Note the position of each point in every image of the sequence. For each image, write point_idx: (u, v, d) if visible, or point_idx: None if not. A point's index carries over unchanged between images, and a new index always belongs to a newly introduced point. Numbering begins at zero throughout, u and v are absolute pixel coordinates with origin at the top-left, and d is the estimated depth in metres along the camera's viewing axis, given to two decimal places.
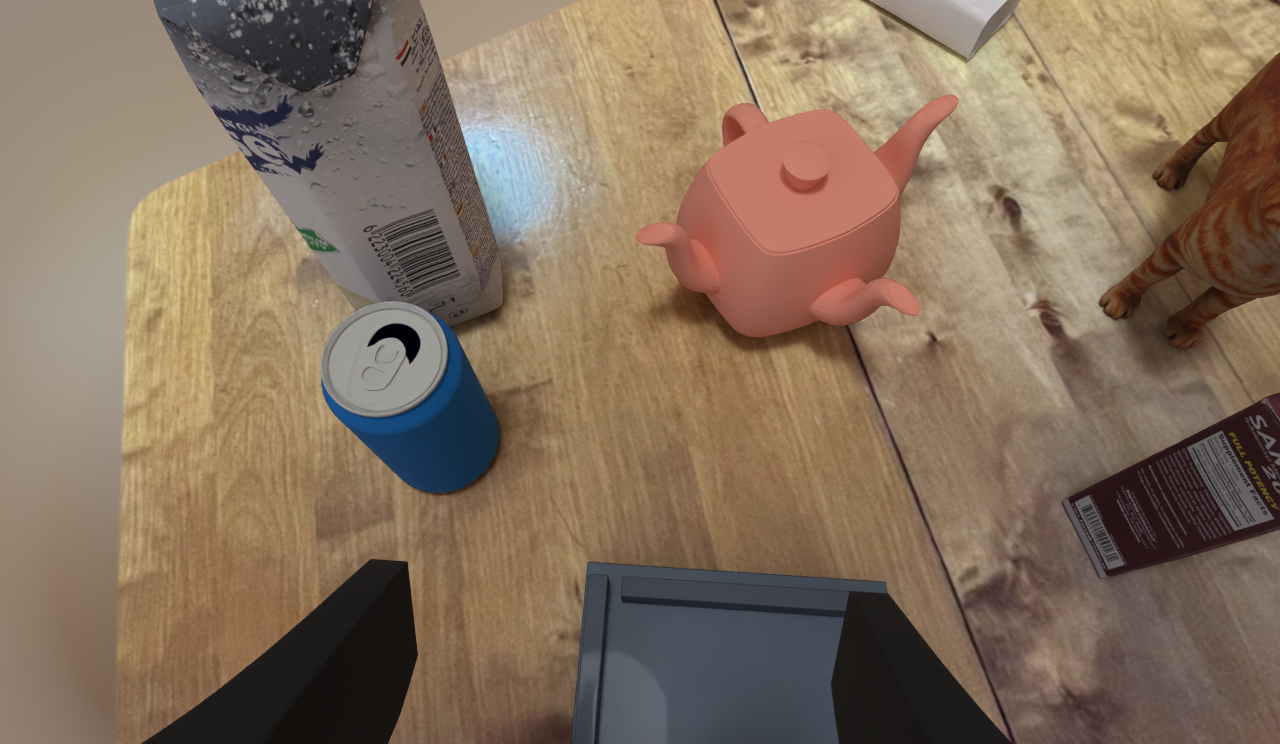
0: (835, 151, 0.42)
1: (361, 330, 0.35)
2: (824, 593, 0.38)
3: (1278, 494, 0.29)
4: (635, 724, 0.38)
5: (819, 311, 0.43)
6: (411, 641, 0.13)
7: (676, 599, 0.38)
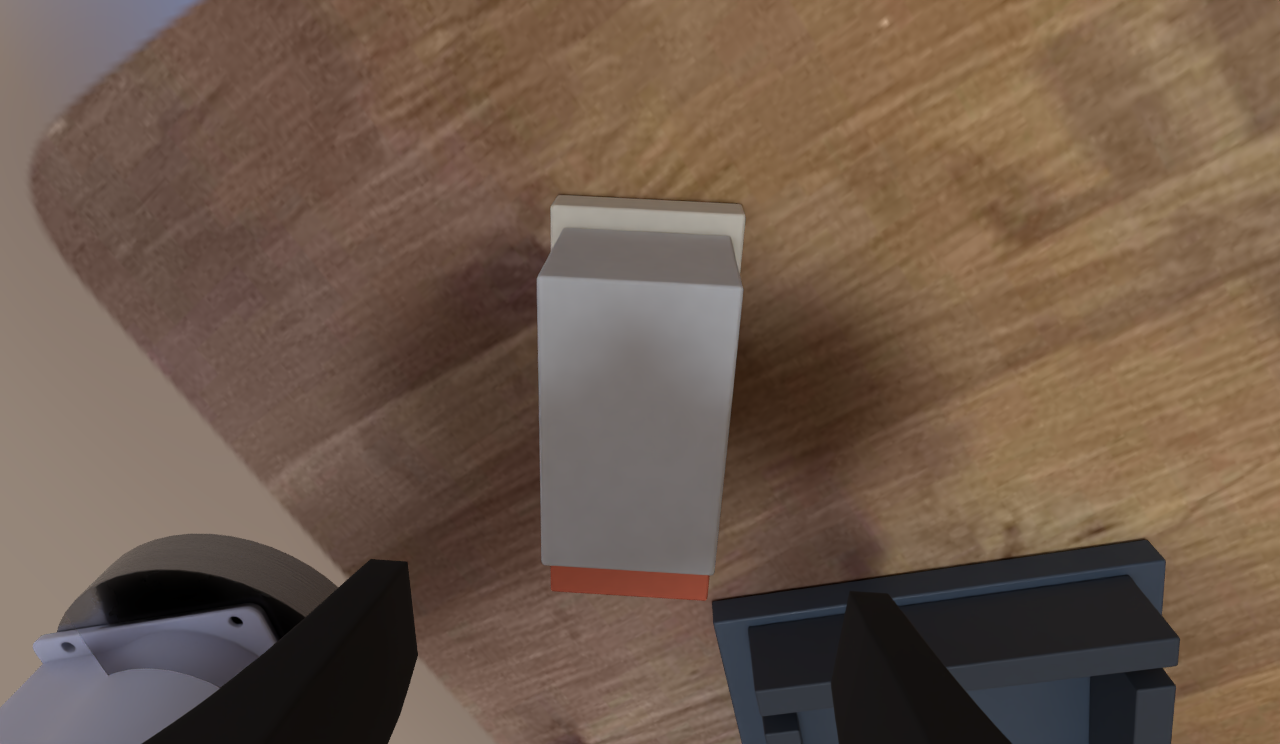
0: None
1: None
2: None
3: None
4: None
5: None
6: (411, 641, 0.13)
7: None
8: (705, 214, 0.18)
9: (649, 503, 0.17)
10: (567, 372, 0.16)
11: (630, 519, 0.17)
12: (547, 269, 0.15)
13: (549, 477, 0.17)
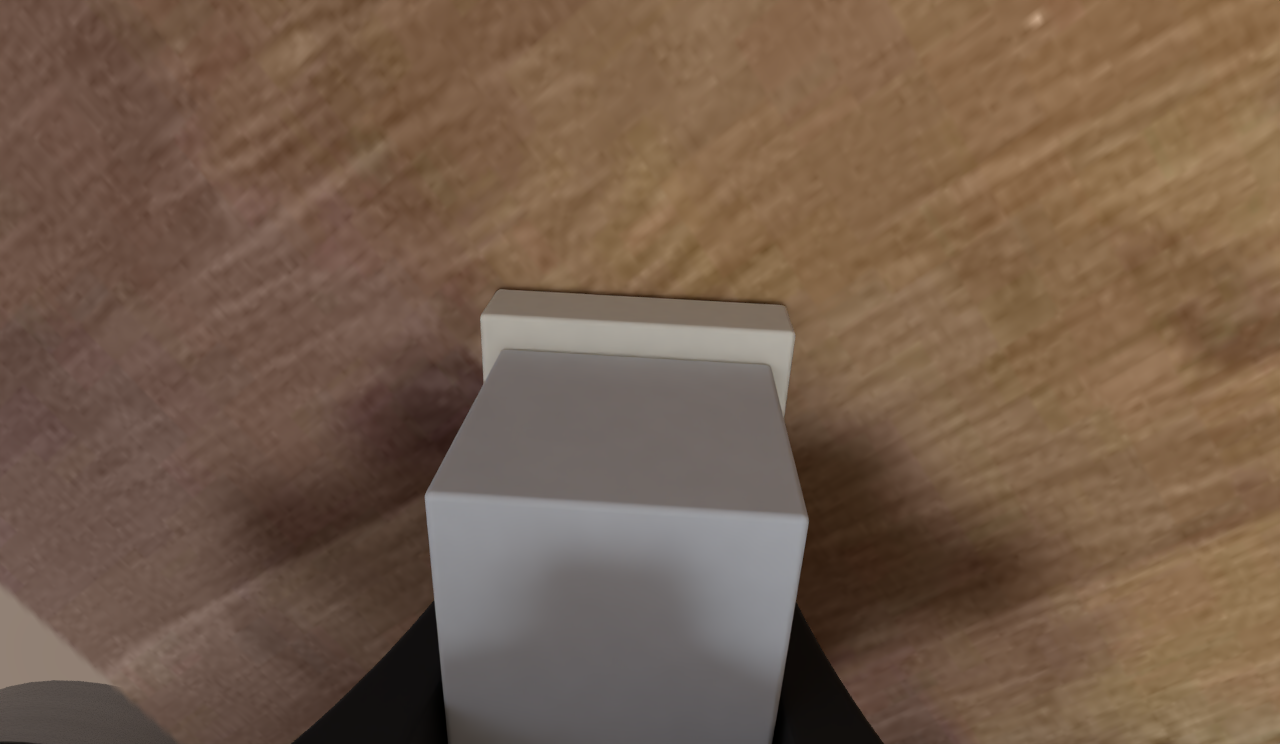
0: None
1: None
2: None
3: None
4: None
5: None
6: None
7: None
8: (730, 331, 0.11)
9: None
10: (488, 644, 0.09)
11: None
12: (448, 471, 0.08)
13: None
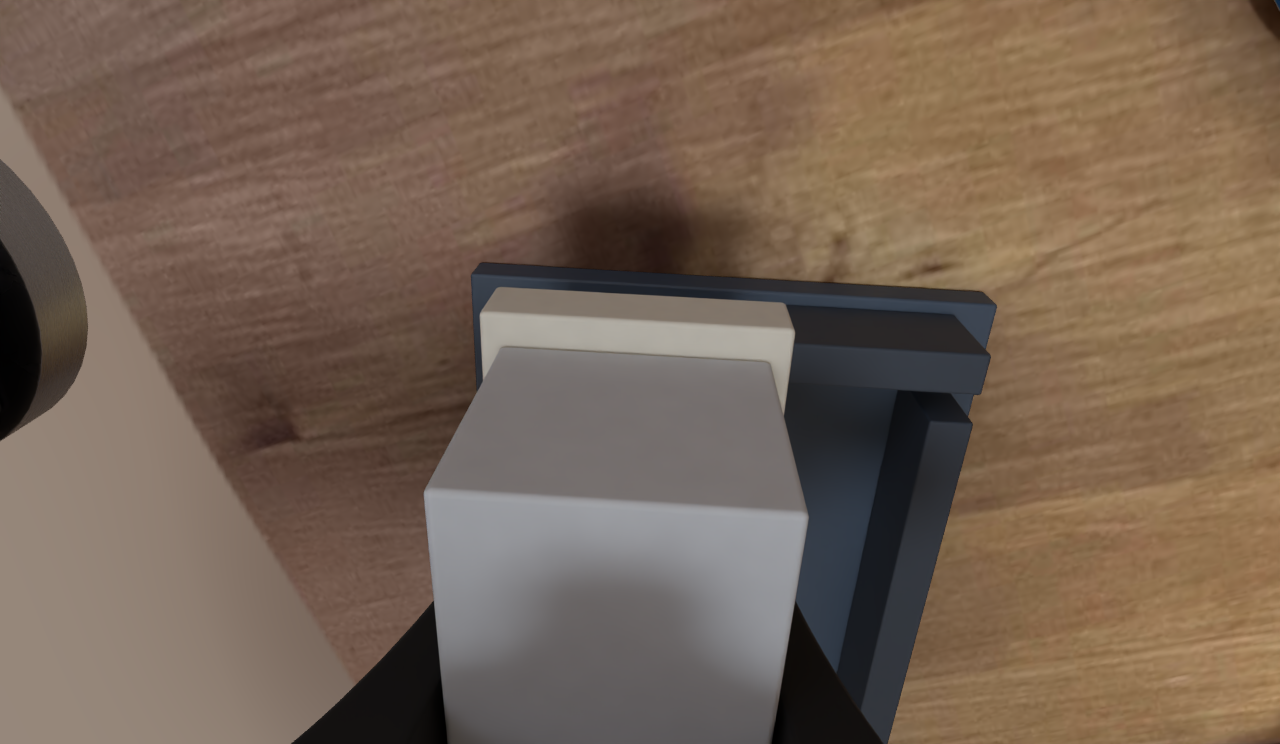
0: None
1: None
2: (883, 735, 0.22)
3: None
4: None
5: None
6: None
7: (906, 519, 0.19)
8: (730, 328, 0.11)
9: None
10: (487, 641, 0.09)
11: None
12: (447, 468, 0.08)
13: None
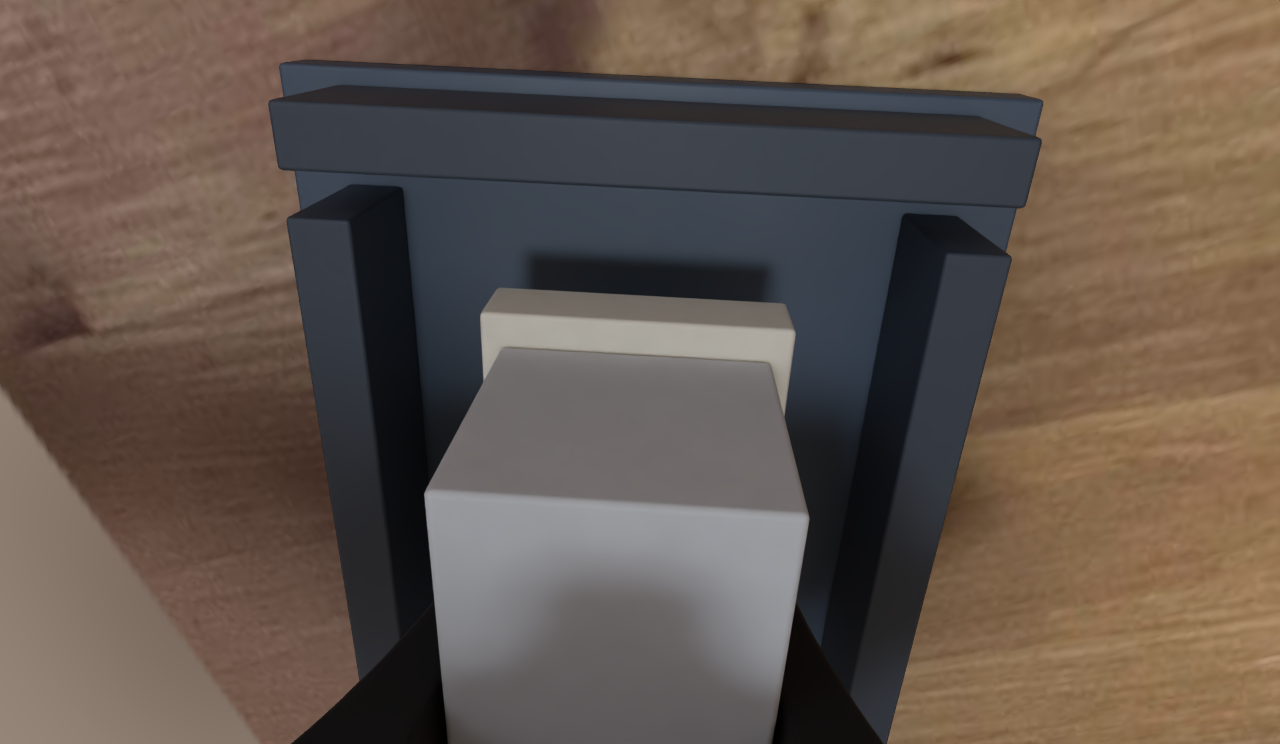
0: None
1: None
2: (880, 732, 0.16)
3: None
4: (579, 255, 0.14)
5: None
6: None
7: (911, 414, 0.13)
8: (730, 329, 0.11)
9: None
10: (488, 642, 0.09)
11: None
12: (447, 470, 0.08)
13: None
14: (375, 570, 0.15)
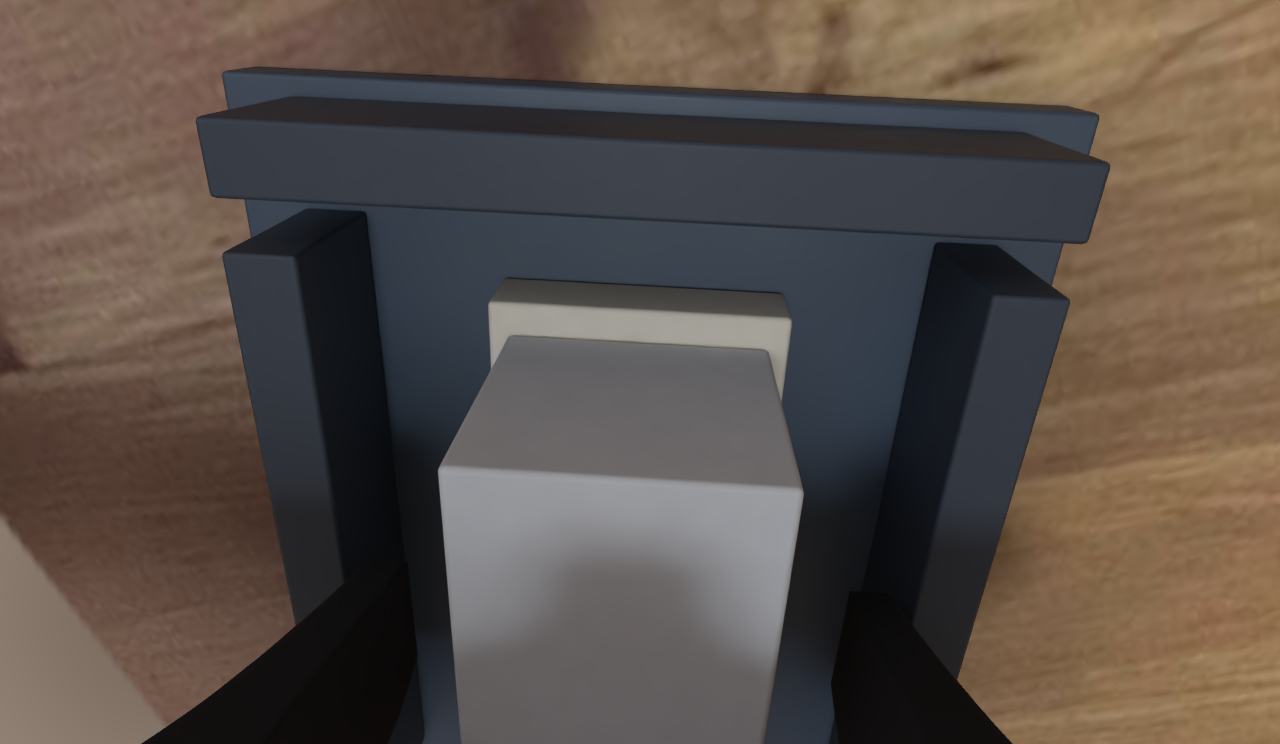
0: None
1: None
2: None
3: None
4: None
5: None
6: (411, 641, 0.13)
7: (947, 477, 0.11)
8: (729, 317, 0.11)
9: None
10: (497, 614, 0.09)
11: None
12: (459, 448, 0.09)
13: None
14: None
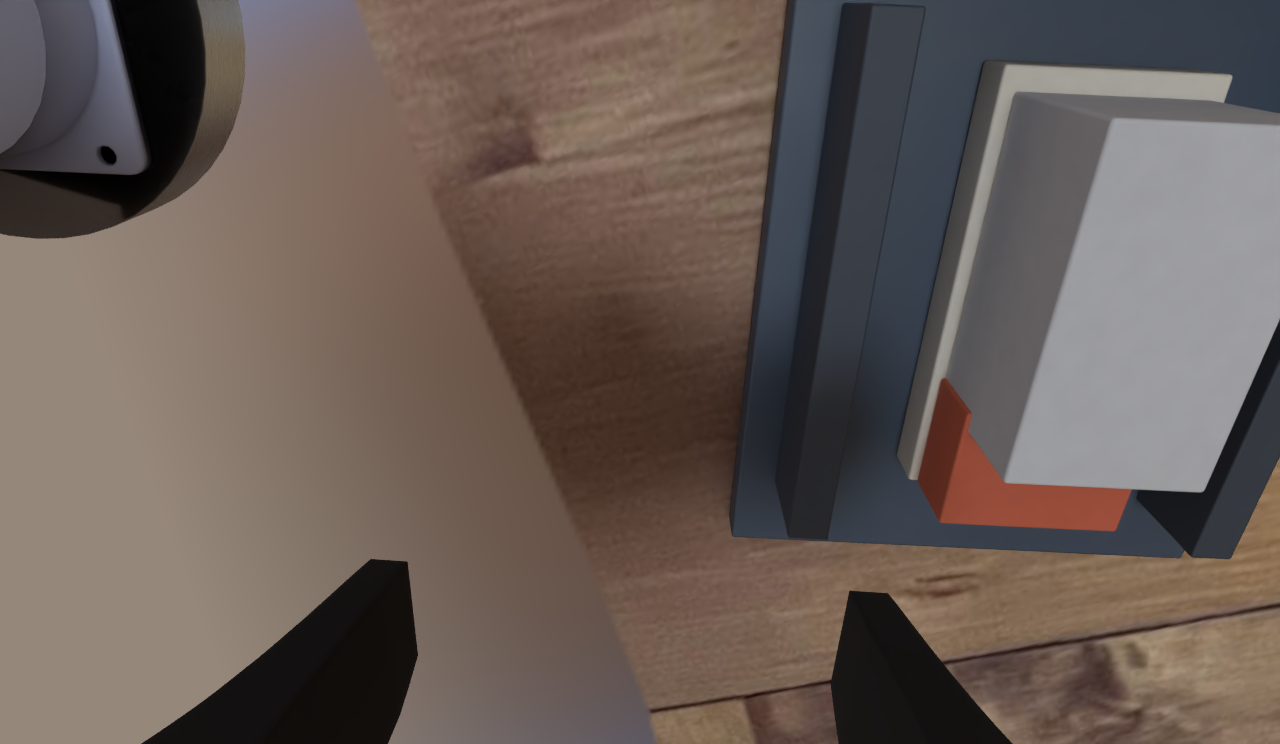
0: None
1: None
2: (1252, 497, 0.18)
3: None
4: None
5: None
6: (411, 641, 0.13)
7: None
8: (1187, 74, 0.15)
9: (1158, 405, 0.14)
10: (1113, 241, 0.13)
11: (1129, 425, 0.15)
12: (1109, 114, 0.13)
13: (1048, 375, 0.14)
14: (848, 347, 0.17)
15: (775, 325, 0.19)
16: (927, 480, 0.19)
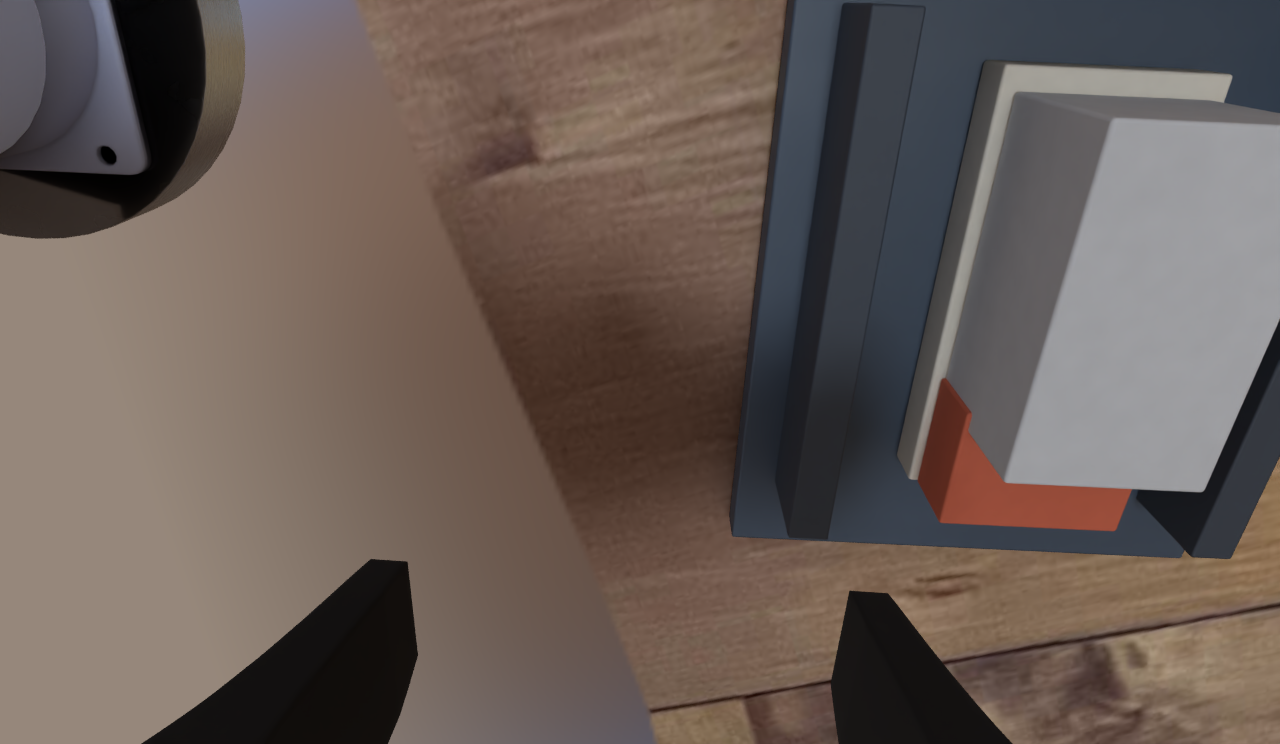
0: None
1: None
2: (1252, 497, 0.18)
3: None
4: None
5: None
6: (411, 641, 0.13)
7: None
8: (1187, 74, 0.15)
9: (1158, 405, 0.14)
10: (1113, 241, 0.13)
11: (1129, 425, 0.15)
12: (1109, 114, 0.13)
13: (1048, 375, 0.14)
14: (848, 347, 0.17)
15: (775, 325, 0.19)
16: (927, 480, 0.19)
